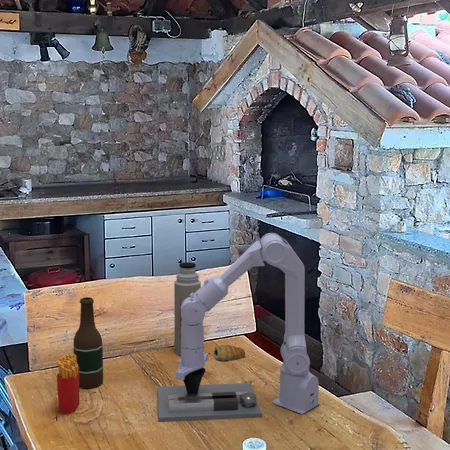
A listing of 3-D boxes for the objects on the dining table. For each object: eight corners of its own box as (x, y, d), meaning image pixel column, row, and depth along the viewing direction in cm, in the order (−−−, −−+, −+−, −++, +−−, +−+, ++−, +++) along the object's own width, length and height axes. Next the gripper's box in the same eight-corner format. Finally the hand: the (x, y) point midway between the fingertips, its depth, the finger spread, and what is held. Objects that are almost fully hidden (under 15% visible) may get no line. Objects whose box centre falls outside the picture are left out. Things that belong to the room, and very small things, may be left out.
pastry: (241, 352, 202) (241, 340, 201) (248, 360, 195) (248, 348, 195) (212, 354, 199) (212, 343, 199) (217, 363, 193) (217, 351, 192)
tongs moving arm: (254, 398, 166) (254, 390, 165) (257, 406, 161) (257, 398, 161) (168, 402, 163) (168, 394, 163) (168, 410, 159) (168, 402, 158)
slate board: (250, 386, 176) (250, 382, 176) (261, 417, 159) (261, 413, 158) (157, 389, 173) (157, 386, 173) (158, 421, 156) (158, 417, 156)
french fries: (72, 415, 158) (71, 365, 156) (55, 415, 158) (53, 364, 156) (82, 399, 167) (81, 351, 165) (66, 398, 167) (64, 350, 165)
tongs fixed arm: (236, 405, 162) (236, 396, 162) (238, 410, 160) (238, 401, 160) (168, 408, 160) (168, 399, 160) (168, 413, 158) (168, 403, 158)
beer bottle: (109, 383, 177) (107, 298, 173) (85, 392, 171) (83, 304, 167) (92, 375, 182) (90, 292, 178) (68, 383, 177) (65, 298, 173)
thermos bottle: (197, 357, 196) (197, 267, 191) (171, 355, 198) (171, 266, 193) (202, 348, 204) (203, 261, 199) (177, 346, 205) (177, 260, 200)
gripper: (191, 334, 171) (190, 383, 173) (164, 352, 158) (164, 405, 160) (215, 338, 168) (215, 387, 170) (190, 357, 155) (190, 410, 157)
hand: (192, 396), depth 165 cm, fingers closed
